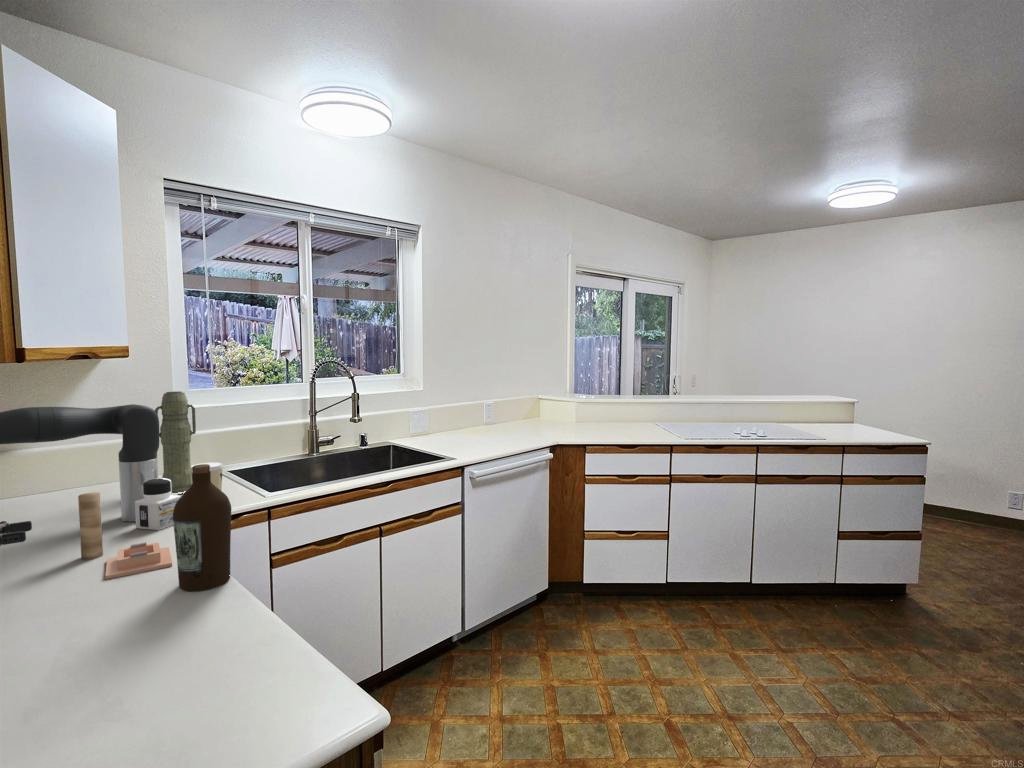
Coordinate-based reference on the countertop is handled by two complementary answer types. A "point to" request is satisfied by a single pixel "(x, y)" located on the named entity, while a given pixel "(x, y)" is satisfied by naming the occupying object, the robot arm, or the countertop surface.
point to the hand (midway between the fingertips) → (28, 530)
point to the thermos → (176, 439)
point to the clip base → (138, 560)
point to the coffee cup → (213, 473)
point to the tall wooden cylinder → (90, 525)
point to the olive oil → (202, 533)
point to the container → (156, 505)
